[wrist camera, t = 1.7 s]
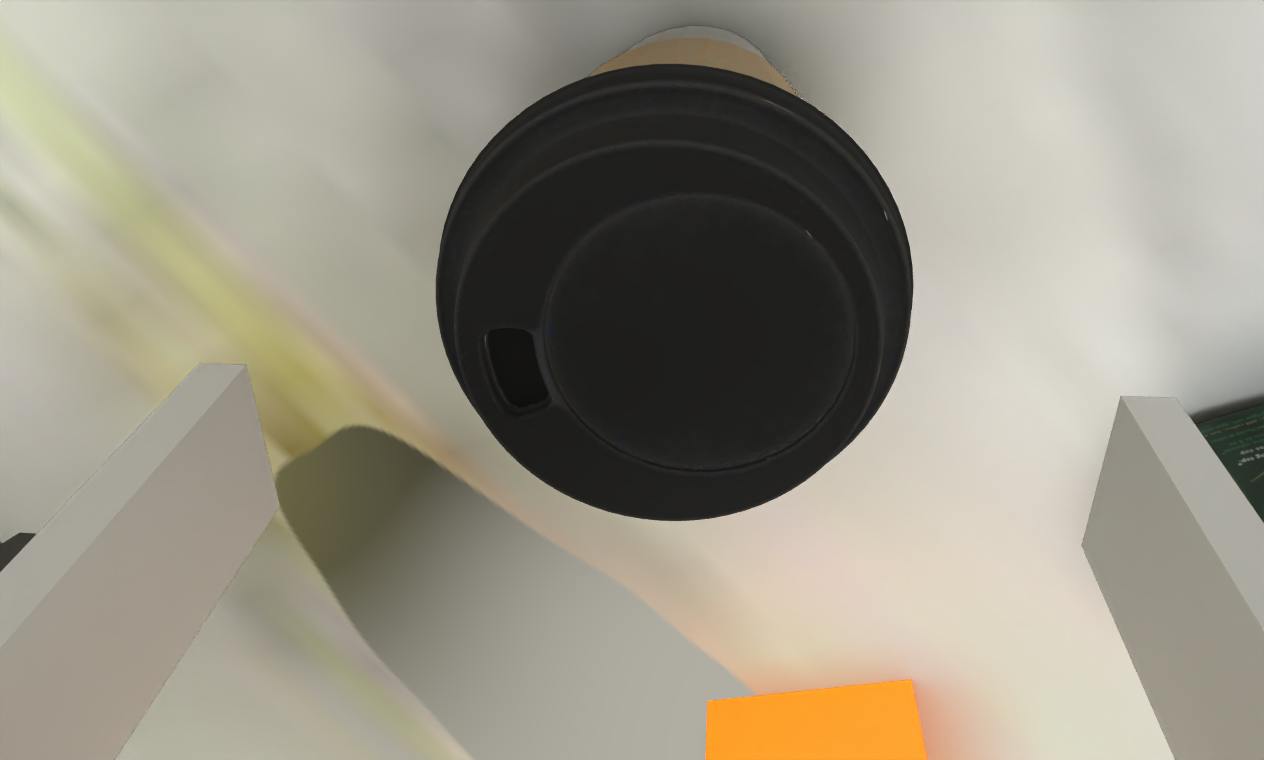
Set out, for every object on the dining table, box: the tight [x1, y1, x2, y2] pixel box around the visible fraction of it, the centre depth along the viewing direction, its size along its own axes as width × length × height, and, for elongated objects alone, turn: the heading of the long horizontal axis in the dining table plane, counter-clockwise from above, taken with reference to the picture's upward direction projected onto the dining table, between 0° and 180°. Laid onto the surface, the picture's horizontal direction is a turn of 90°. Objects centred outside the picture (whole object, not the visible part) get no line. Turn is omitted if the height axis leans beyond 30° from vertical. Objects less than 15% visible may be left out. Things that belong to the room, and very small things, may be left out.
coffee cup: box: [436, 26, 913, 521], centre depth 25 cm, size 9×9×15 cm
